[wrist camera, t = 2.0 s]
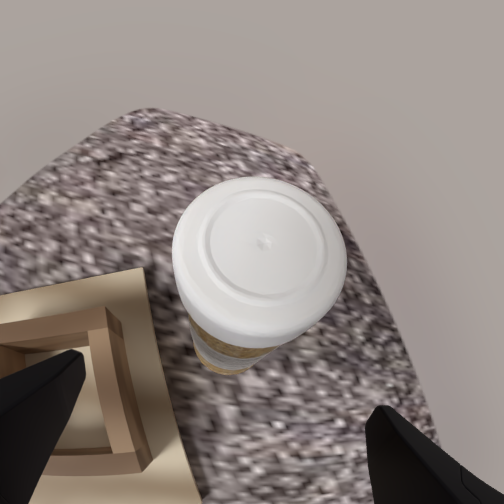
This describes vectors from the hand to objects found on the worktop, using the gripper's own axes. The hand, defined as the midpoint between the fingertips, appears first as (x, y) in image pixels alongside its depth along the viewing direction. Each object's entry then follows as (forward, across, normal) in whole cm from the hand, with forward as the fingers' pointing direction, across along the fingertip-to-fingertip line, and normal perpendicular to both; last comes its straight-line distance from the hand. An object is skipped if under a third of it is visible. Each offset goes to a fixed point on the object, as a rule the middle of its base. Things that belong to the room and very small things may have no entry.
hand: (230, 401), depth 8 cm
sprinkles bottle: (+10, 0, +5) cm, 12 cm away
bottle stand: (+6, +9, +10) cm, 14 cm away
